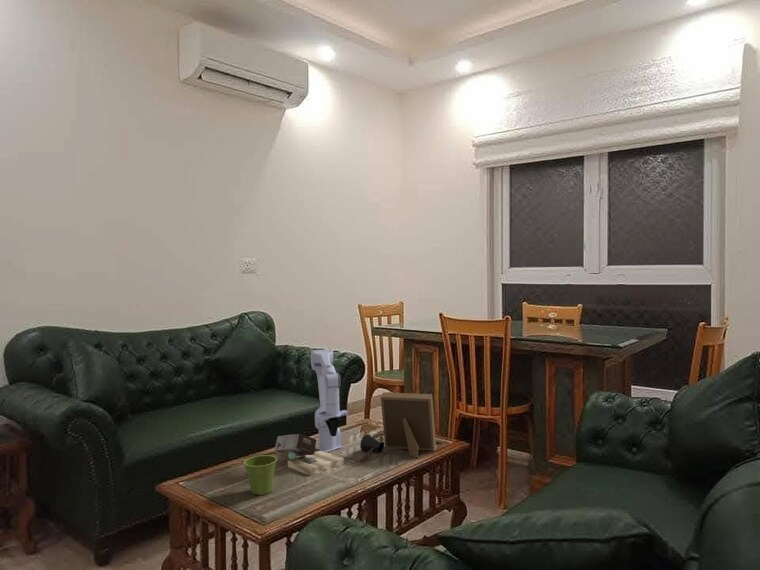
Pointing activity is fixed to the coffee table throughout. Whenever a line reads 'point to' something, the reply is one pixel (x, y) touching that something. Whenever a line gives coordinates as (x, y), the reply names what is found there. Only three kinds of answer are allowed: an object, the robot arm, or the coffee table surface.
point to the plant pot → (261, 473)
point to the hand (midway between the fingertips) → (333, 435)
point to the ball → (310, 461)
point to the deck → (316, 463)
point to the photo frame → (408, 421)
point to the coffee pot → (370, 446)
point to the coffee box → (295, 444)
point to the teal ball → (292, 455)
